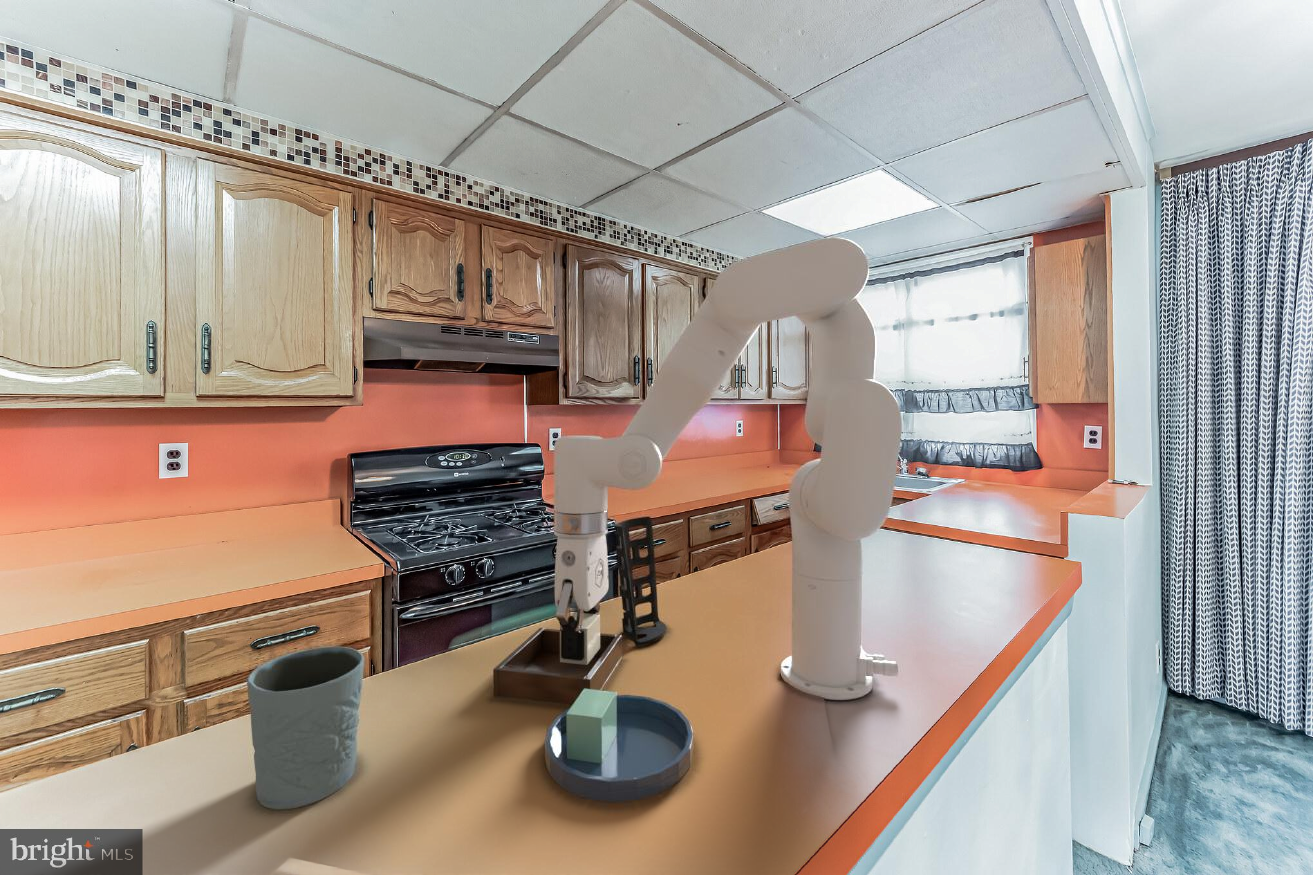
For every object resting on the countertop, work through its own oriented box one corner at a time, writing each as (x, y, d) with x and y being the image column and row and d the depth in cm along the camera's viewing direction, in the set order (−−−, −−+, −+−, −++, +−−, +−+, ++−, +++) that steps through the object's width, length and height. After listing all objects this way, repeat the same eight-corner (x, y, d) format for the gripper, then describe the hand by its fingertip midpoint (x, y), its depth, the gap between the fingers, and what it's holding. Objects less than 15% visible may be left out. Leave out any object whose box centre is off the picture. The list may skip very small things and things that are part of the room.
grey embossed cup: (288, 752, 60) (286, 646, 60) (382, 747, 61) (380, 643, 60) (223, 819, 50) (220, 693, 49) (337, 813, 51) (334, 688, 50)
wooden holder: (621, 661, 83) (621, 634, 83) (590, 711, 68) (590, 679, 68) (540, 652, 86) (539, 627, 86) (493, 699, 71) (492, 669, 71)
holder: (659, 648, 87) (647, 525, 87) (614, 648, 88) (603, 528, 88) (671, 623, 98) (660, 514, 98) (631, 624, 99) (620, 517, 99)
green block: (616, 733, 63) (616, 691, 62) (601, 763, 57) (601, 717, 57) (584, 729, 63) (584, 688, 63) (566, 758, 58) (566, 713, 58)
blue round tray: (701, 722, 66) (701, 702, 66) (679, 818, 50) (679, 791, 50) (577, 707, 69) (577, 688, 69) (519, 792, 53) (518, 768, 53)
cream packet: (600, 648, 79) (600, 614, 78) (587, 665, 73) (587, 628, 73) (574, 645, 79) (574, 612, 79) (559, 662, 74) (559, 626, 74)
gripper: (585, 536, 67) (585, 680, 67) (623, 513, 83) (622, 628, 84) (529, 533, 68) (529, 674, 69) (577, 511, 85) (577, 624, 85)
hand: (580, 647), depth 76 cm, fingers closed on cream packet, 5 cm apart
